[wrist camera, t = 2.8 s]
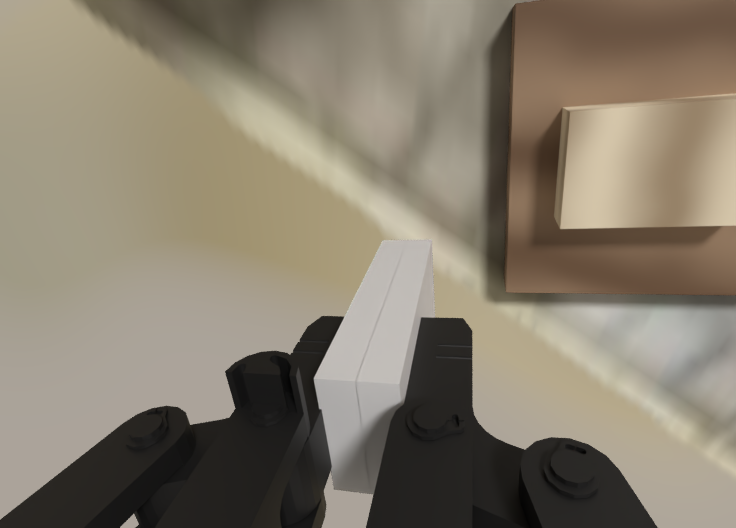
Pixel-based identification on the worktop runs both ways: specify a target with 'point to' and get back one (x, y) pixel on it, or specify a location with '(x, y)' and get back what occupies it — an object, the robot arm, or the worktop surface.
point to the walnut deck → (605, 86)
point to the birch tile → (648, 164)
